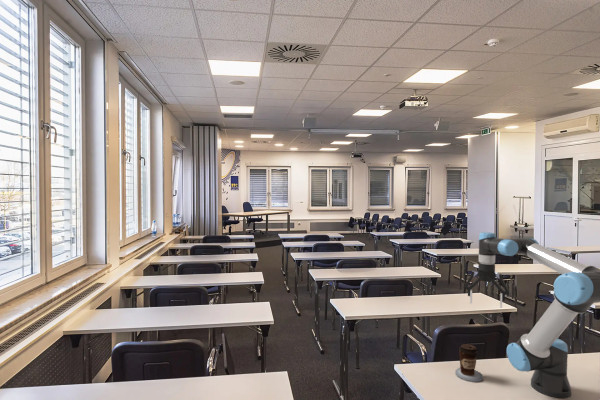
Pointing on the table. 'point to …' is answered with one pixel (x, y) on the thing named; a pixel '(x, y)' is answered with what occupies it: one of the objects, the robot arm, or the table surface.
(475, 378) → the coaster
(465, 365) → the coffee cup
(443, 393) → the table surface
